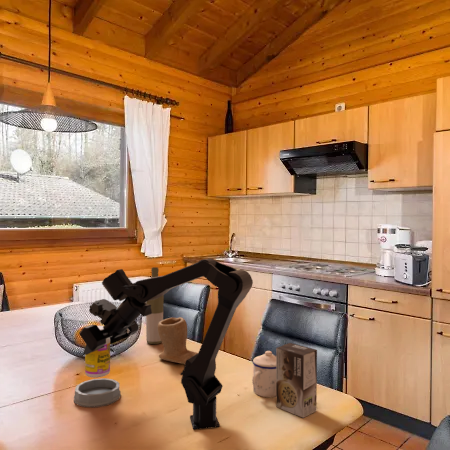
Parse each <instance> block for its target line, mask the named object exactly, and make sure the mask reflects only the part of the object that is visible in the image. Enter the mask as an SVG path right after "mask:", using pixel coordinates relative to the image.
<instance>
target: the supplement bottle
mask: <svg viewBox="0 0 450 450" xmlns="http://www.w3.org/2000/svg"><path fill="white" fill-rule="evenodd" d="M97 326H98V328H99V329H100V331H101V330H104V328H103V326H104V325H97ZM84 343H85V342H84ZM85 347H86V343H85V345H84V348H85ZM84 355H85V357H84V361H85V362H84V374H85V376H86V377H89V378H93V379H99V378H104V377H105V376H108V375H109V374H110V372H111V344H110V338H107V339H106V344H105V345H104V347H103V348H101V349H98V350H96V351H94V352H91V353H89V354H87V355H86V354H85V353H84Z"/></svg>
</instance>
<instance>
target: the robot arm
mask: <svg viewBox="0 0 450 450" xmlns="http://www.w3.org/2000/svg"><path fill="white" fill-rule="evenodd" d="M201 278H205V279H207V281H208V282H209V283H210V284H211V285H213V286H214V287H217V288H218V290H217V306H216V309H215V311H214V313H213V315H212V319H211V321H210V323H209V325H208V328H207V330H206V332H205V336H204V338H203V340H202V343H201V346H200V348H199V350H198V352H196V353H197V354H196V355H194V356H192V357H191V358H189V359H188V360H186V363H185V364H184V367H183V370H182V372H181V373H180V374H179V375H180V376H181V378H180V379H181V380H180V384H181V386H182V388H183V389H184V392H185V393H184V394H185V395H186V399H187V402H188V403H189V404H192V414H191V415H189V419H190V424H191V427H192V429H193V430H194V431H195V430H205V429H215V428H216V429H217V428H221V427H220V426H221V425H220V422H219V420H218V419H219V418H218V417H217V395H220V393H222V389H223V386H224V385H223V384H222V383H221V382H220V380H219V379H218V378H217V376H216V375H215V373H216V369H217V367H216V365H217V364H216V360H217V357H218V354H219V351H220V349H221V346H222V345H223V342H224V338H225V336H226V334H227V332H228V329H229V328H230V327H229V326H230V324H231V323H232V320H233V318H234V317H233V316H234V315H235V312H236V310H237V308H238V307H239V305H240V304H241V303H242V302H243V301H244V300H245V298H246V297H247V295H248V293H249V292H250V290H251V289H252V288H253V283H254V282H253V278H252V276H251V274H250V273H249V272H248V271H247V270H245V269H237V268H235V267H233V266H230V265H228V264H224V263H221V262H219V261H217V260H216V259H214V258H210V257H209V258H204V259H201V260H199V261H198V262H195V263H193V264H192V263H191V264H190V265H188V266H185V267H183V268H182V267H181V268H180V269H177V270H175V271H172V272H170V273H167V274H165V275H160V276H159V275H158V277H153V278H152V277H149V278H144V279H140V280H137V281H136V282H132V281H131V279H130V278H129V277H128V276H127V274H126V272H125V271H124V270H123V268H120V269H116V270H115V271H114V272H112V273H110V274H109V275H108V276H106V277H105V278H104V279H103V280H102V282H101V285H102V286H103V288H104V289H105V290H106V292H107V293H108V294H109V295H110V297H111V298H112V299H113V301H119V302H121V301H122V302H121V303H120V304H119V305H118V306H116V304H114V303H112V302H111V301H109V300H107V299H105V298H102V299H99V300H95V301H93V302H92V303H91V305H89V313H90V314H91V315H93V316H94V317H98V318H99V319H100V320H99V323H100V324H101V326H103V328H104V330H101V331H100V329H99V328H98V326H99V325H97V324H91V325H88V326H85V327H82V329H81V330H80V331H79V334H78V335H79V337H81V339H82V340H83V342H84V343H86V347H85V346H84V350H83V353H84V355H85V354H86V355H87V354H89V353H91V352H94V351H96V350H98V349H101V348H103V347H104V345H105V344H106V339H107V338H110V345H113V344H115V343H117V342H119V341H120V342H121V341H122V340H124V339H127V338H129V337H130V336H133V335H135V334H136V333H137V332H138V331H139V329H140V328H139V326H140V325H139V324H138V322H137V321H136V320H137V318H138V317H139V316H140V315H141V316H142V317H144V318H145V317H146V316H147V315H150V314H152V310H151V305H148V304H147V303H146V302H147V301H151V300H154V299H157V298H159V297H161V296H162V295H165V294H167V293H168V292H170V290H172V289H173V288H174V289H175V288H177V287H179V286H181V285H185V284H187V283H190V282H192V281H195V280H198V279H201ZM128 331H129V332H128Z"/></svg>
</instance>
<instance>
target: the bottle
mask: <svg viewBox="0 0 450 450" xmlns="http://www.w3.org/2000/svg"><path fill="white" fill-rule="evenodd" d="M159 272H160V271H159V267H156V266H155V267H153V266H152V267H151V278H153V277H159ZM164 295H165V294H164ZM164 295H162V296H161V297H159V298H157V299H154V300H151V301H147V302H146V303H147V304H148V305H151V310H152V314H150V315H147V316H145V326H146V328H145V331H146V332H145V333H146V335H145V337H146V343H147V344H149V345H159V344H162V341H161V339H160V336H159V333H158V323H159V322H160V321H162V320H164V302H165V301H164V299H165V298H164Z"/></svg>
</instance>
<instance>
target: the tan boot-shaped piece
mask: <svg viewBox="0 0 450 450" xmlns="http://www.w3.org/2000/svg"><path fill="white" fill-rule="evenodd" d="M158 333H159V336H160V339H161V341H162V342H161V344H162V346H163V351H162V352H160V353H159V355H158V358H159V359H161V360H164V361H166V362H172V363H176V364H177V363H178V364H181V365H185V363H186V360H188V359H189V358H191V357H192V356H194V355H196V354H197V353H198V352H196V351H193V350H188V349H187V339H188V323H187V321H186V319H185V318H183V317H181V316H179V317H169V318H165V319H164V318H163V320H162V321H160V322H159V323H158Z"/></svg>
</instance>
